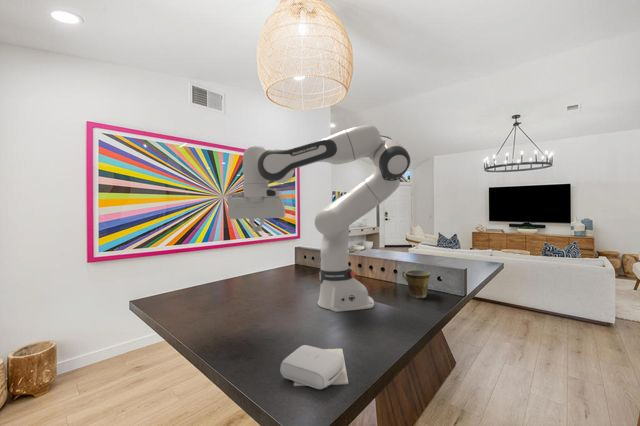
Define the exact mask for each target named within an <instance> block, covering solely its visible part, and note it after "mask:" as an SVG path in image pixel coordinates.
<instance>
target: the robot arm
mask: <svg viewBox="0 0 640 426" xmlns="http://www.w3.org/2000/svg"><path fill="white" fill-rule="evenodd" d="M362 158H369V159H370V160H371V161H372V163H373V164H374V166H375V169H374V171H373V172H372V173H371V175H369V176H368V177H366V178H365V179H363V180H362V181H361V182H360V183H358V184H356V186H355V187H353V188H352V189H350V190H349V191H347V192H346V193H345V194H343V195H342V196H340V197H338V198H337V199H335V200H334V201H332V202H331V203H329V204H328V205H326V206H325V207H324V208H322V209H321V210H319V212H317V214H316V215H315V218H314V226H315V229H316V230H317V231H318V232H319V233H320V234H321V235H322V239H321V246H320V269H319V282H320V288H319V289H320V290H319V296H318V301H317V305H318V306H319V307H321V308H322V309H326V310H331V311H332V312H346V311H347V312H348V311H358V310H367V309H372V308H374V307H375V301H374V299H373V298H372V297H371V296H370V295H369V292H368V289H367V287H366V286H365V285H364V284H363V283H362V282H360V281H358V280H357V279H356V278H355V277H356V272H355V271H354V270H353V269H352V268H350V267H349V239H350V238H349V237H350V226H351V225H353V223H355V222H356V221H358V220H359V219H361V218H362V217H364V216H365V215H367V214H368V213H370V212H371V211H372V210H374V208H376V207H377V206H379V205H380V204H382V203H383V202H384V201H385V200H387V199H388V198H390V196H391V195H392V194H393V193H395V191H397V189H398V188H399V186H400V185H401V184H400V183H401V182H400V181H401V180H400V179H401V178H402V177H403V175H404V174H405V173H406V172H407V171H408V169H409V167H410V166H411V156H410V154H409V152H408V151H407V149H406V148H404V147H403V145H401V143H399V142H398V141H395V140H394V139H392V138H391V137H389V136H386V135H381V132H380V131H379V129H378V128H377V127H376V126H375V125H373V124H364V125H358V126H353V127H351V128H347V129H343V130H342V131H338V132H336V133H334V134H332V135H329V136H327V137H324V138H322V139H320V140H317V141H313V142H310V143H307V144H304V145H300V146H295V147H294V148H289V149H275V148H273V149H267V148H266V147H265V146H263V145H262V146H261V145H259V146H258V145H257V146H254V145H253V146H251V147H249V148H246V149H245V150H244V152H243V155H242V174H243V182H242V190H243V192H240V193H239V192H238V193H234V192H233V193H230V194H229V195H228V196H227V198H226V201H227V218H228V219H229V220H248V222H249V223H250V226H251V227H252V232H254V233H255V232H262V231H263V225H264V223H265V220H266V219H281V218H282V219H283V218H285V216H286V207H285V203H284V200H283V199H282V193H281V191H279V190H277V189H274V188H272V187H269V182H274V183H277V184H285V183H287V182H289V181H290V180H291V179H292V178H293V177H294V175H295V169H299V168H302V167H305V166H308V165H312V164H315V163H329V164H332V165H342V164H347V163H348V164H349V163H351V162H354V161H358V160H360V159H362ZM255 219H259V222H260V223H259V225H256V224H255V223H254V222H255Z"/></svg>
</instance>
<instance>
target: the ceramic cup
mask: <svg viewBox="0 0 640 426" xmlns="http://www.w3.org/2000/svg"><path fill="white" fill-rule="evenodd" d="M404 274H405V275H404ZM401 275H402V277H403V278H404V280H406V282H407V286H408V291H409V295H410V297H412V298H416V299H425V298H426V297H427V294H428V288H429V283H430V276H431V273H430V272H429V271H426V270H420V269H412V270H411V269H410V270H406V271H403V272H402V274H401Z"/></svg>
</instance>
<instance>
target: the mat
mask: <svg viewBox="0 0 640 426" xmlns="http://www.w3.org/2000/svg"><path fill="white" fill-rule="evenodd" d="M324 350H328V351H332V352H335V353H338V354H340V355H341V356H342V358H343V359H344V362H343V363H344V367H343V370H342V372H341V374H340V375H339V377H338V378H337V379H336V380H335V381H334V382H333V383H332V384H330V385H331V386H332V385H335V386H336V385H349V379H348V375H347V374H348V373H347V367H346V363H345V356H344V352H343V348H324ZM330 385H329V386H330ZM303 386H307V385H305V384H302V383H299V382H296V381H293V387H303Z"/></svg>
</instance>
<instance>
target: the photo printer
mask: <svg viewBox="0 0 640 426" xmlns="http://www.w3.org/2000/svg"><path fill="white" fill-rule="evenodd" d="M324 349H325V348H324ZM324 349H323V348H321V347H316V346H312V345H307V344H304V345H301V346H299V347H298V348H296V349H295V350H294V351H292V353H290V354H289V355H288V356H286V357H285V358H284V359H283V360H282V362H281V363H280V368H279V369H280V374H281V375H282V377H283V378H284V379H286V380H291V381H292V382H294V381H296V382H299V383H302V384H305V385H307V386H308V387H311V388H314V389H316V390H323V389H325V388H328V387H329V386H330V384H332V383H333V382H334V381H335V380H336V379H337V378H338V377H339V375H340V374H341V372H342V370H343V367H344V363H343V362H344V361H345V358H344V359H343V358H342V356H341V355H340V354H338V353H335V352H332V351H328V350H324Z"/></svg>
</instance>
